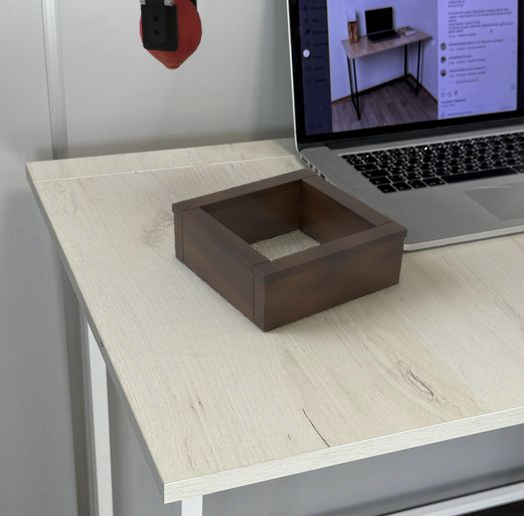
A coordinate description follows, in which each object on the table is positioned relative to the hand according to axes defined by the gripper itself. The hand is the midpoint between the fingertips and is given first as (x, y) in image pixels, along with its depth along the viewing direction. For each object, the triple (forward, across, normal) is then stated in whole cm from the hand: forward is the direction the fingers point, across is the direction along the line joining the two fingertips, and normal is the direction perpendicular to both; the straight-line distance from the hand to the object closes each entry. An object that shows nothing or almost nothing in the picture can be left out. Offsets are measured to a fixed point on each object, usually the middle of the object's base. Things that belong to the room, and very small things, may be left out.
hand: (171, 37), depth 82 cm
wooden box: (+16, -12, -13) cm, 24 cm away
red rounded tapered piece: (+3, 0, 0) cm, 3 cm away
